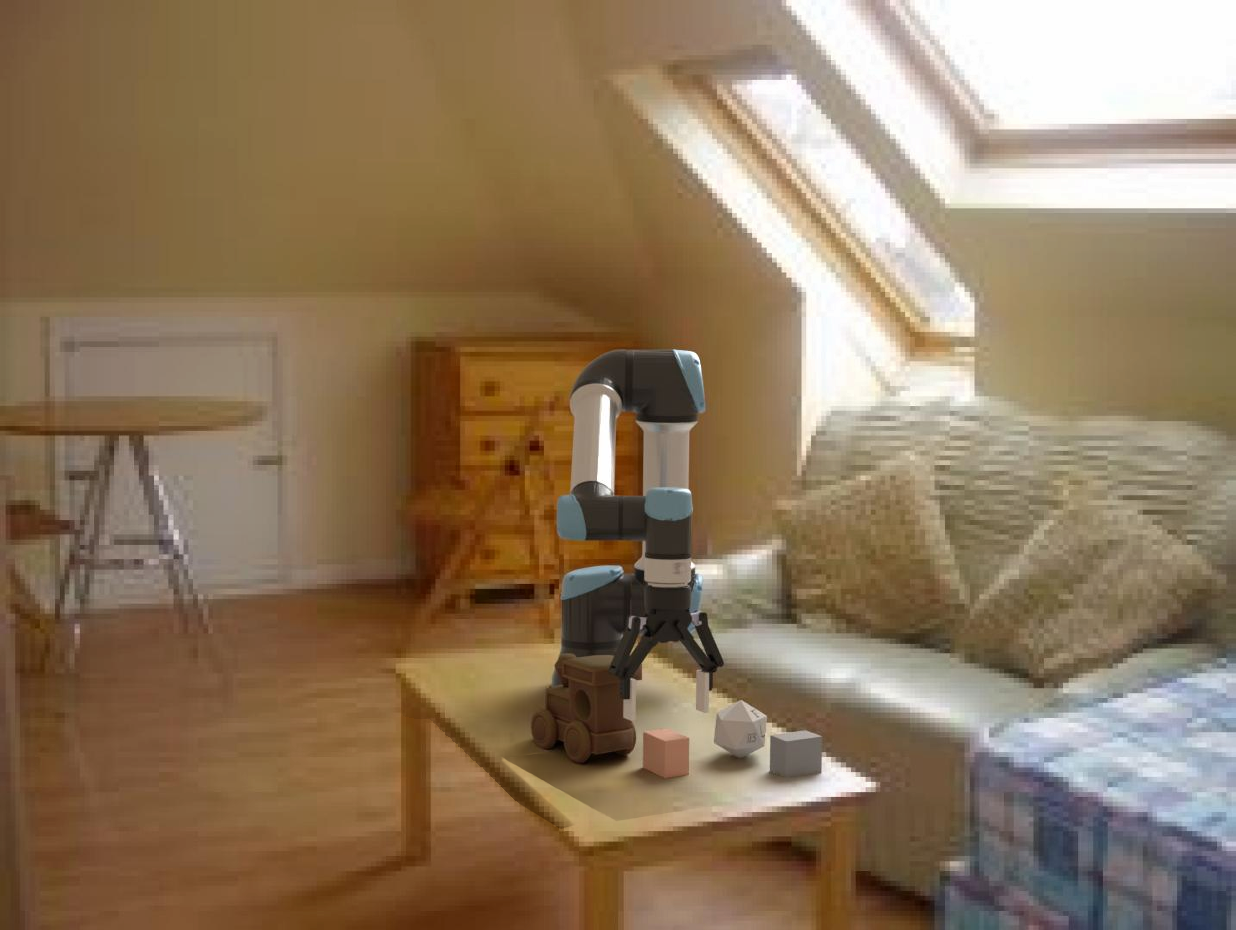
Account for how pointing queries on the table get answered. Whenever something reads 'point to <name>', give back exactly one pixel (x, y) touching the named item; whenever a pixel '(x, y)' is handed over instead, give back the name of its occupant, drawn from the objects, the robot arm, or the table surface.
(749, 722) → the die
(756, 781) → the table surface
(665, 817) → the table surface
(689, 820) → the table surface
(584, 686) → the wooden toy train
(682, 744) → the salmon pink block
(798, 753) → the gray rectangular block
